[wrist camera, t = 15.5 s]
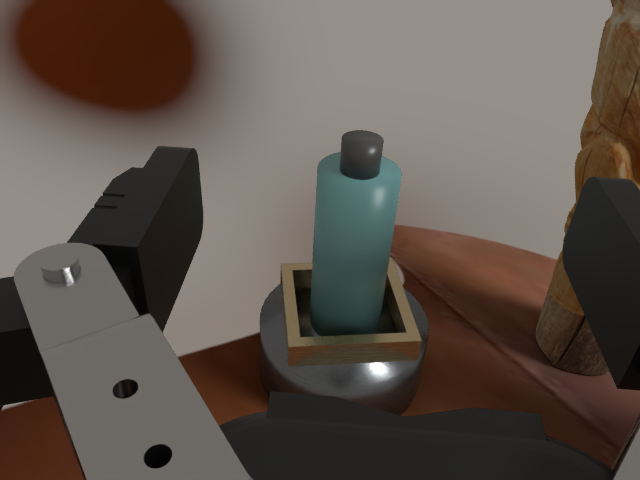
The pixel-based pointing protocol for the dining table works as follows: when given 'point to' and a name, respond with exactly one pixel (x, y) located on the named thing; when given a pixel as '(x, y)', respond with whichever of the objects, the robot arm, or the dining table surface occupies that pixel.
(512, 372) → the dining table surface
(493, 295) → the dining table surface
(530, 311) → the dining table surface
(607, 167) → the sculpture
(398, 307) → the disc with square collar
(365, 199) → the bottle
